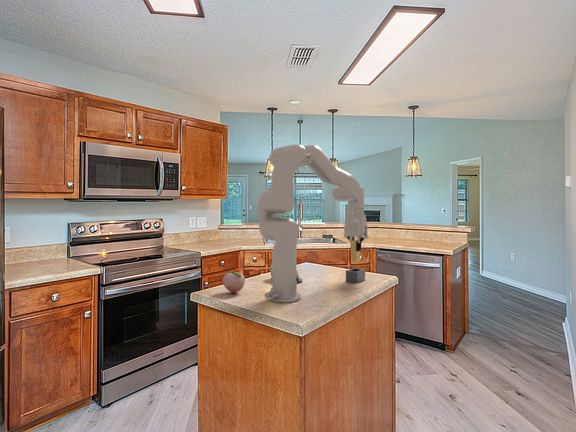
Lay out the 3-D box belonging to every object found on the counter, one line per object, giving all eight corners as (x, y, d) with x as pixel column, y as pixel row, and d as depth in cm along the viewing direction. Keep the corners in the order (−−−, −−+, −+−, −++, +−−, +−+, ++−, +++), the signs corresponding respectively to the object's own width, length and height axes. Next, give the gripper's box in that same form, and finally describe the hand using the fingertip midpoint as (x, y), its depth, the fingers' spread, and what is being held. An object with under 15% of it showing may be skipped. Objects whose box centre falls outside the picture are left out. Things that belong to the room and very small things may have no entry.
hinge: (303, 282, 158) (298, 263, 155) (296, 287, 155) (291, 268, 152) (278, 276, 169) (273, 258, 167) (272, 281, 166) (266, 263, 164)
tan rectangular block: (356, 262, 158) (355, 240, 157) (351, 261, 159) (351, 240, 158) (360, 260, 161) (360, 239, 160) (355, 259, 163) (355, 239, 162)
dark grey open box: (357, 283, 156) (357, 272, 155) (345, 281, 159) (345, 270, 159) (365, 279, 162) (365, 269, 162) (353, 278, 166) (353, 267, 165)
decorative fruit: (249, 292, 141) (249, 268, 141) (237, 297, 134) (236, 272, 134) (232, 289, 146) (231, 266, 145) (219, 293, 139) (218, 269, 138)
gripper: (337, 212, 161) (337, 250, 162) (368, 212, 151) (368, 253, 152) (344, 211, 167) (344, 248, 168) (375, 211, 157) (375, 251, 158)
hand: (355, 250), depth 160 cm, fingers closed on tan rectangular block, 2 cm apart
